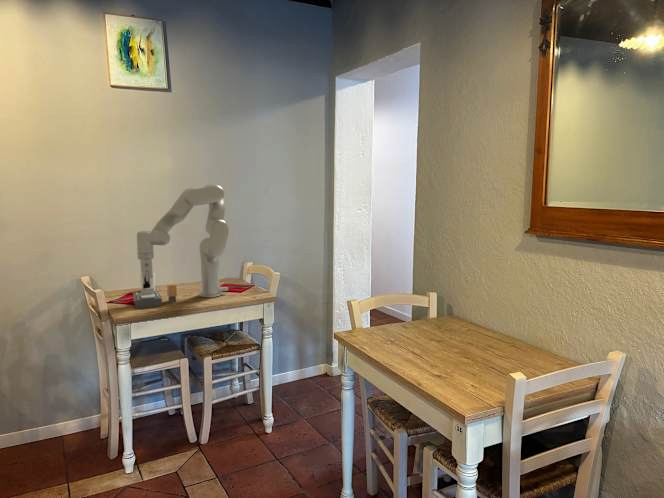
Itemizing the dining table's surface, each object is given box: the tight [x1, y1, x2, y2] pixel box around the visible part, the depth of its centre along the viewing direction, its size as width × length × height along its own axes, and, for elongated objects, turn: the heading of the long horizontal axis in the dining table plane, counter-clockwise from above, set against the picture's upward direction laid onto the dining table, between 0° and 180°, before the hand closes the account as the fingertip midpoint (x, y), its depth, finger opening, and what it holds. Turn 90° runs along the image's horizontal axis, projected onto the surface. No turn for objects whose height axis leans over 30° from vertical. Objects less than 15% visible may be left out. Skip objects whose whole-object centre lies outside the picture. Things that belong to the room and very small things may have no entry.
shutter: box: [140, 287, 156, 299], centre depth 240 cm, size 6×6×4 cm
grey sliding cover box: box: [133, 290, 163, 310], centre depth 244 cm, size 12×16×5 cm
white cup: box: [139, 271, 156, 291], centre depth 269 cm, size 8×8×10 cm
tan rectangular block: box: [166, 282, 178, 303], centre depth 249 cm, size 4×4×9 cm
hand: (146, 291), depth 244 cm, fingers closed
